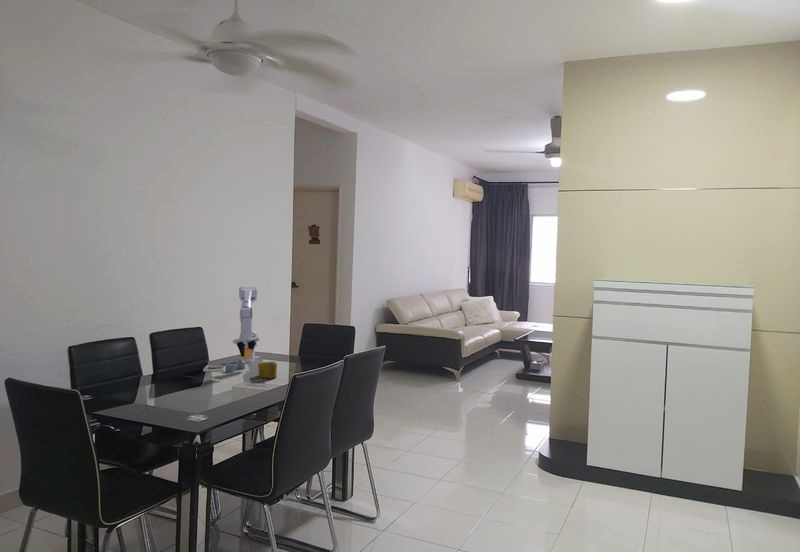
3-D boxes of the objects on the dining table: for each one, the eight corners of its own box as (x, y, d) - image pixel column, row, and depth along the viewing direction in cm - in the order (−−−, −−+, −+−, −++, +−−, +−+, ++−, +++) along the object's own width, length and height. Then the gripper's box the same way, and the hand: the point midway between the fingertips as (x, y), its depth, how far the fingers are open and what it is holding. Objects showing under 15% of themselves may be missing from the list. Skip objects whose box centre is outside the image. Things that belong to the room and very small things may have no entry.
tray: (206, 369, 324) (206, 365, 324) (226, 368, 326) (226, 365, 325) (203, 373, 314) (203, 369, 313) (223, 372, 315) (224, 369, 315)
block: (241, 358, 317) (241, 348, 317) (247, 357, 320) (247, 348, 320) (245, 359, 314) (245, 349, 314) (251, 358, 317) (251, 349, 317)
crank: (239, 367, 325) (239, 359, 325) (246, 368, 324) (246, 359, 323) (225, 371, 314) (225, 363, 314) (232, 372, 312) (232, 363, 312)
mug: (277, 376, 299) (272, 357, 301) (258, 382, 300) (253, 363, 301) (284, 376, 311) (279, 357, 313) (265, 382, 312) (260, 363, 313)
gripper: (237, 332, 309) (237, 358, 309) (262, 329, 319) (262, 355, 319) (230, 330, 314) (230, 356, 314) (255, 328, 324) (255, 353, 324)
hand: (246, 355), depth 317 cm, fingers closed on block, 4 cm apart
